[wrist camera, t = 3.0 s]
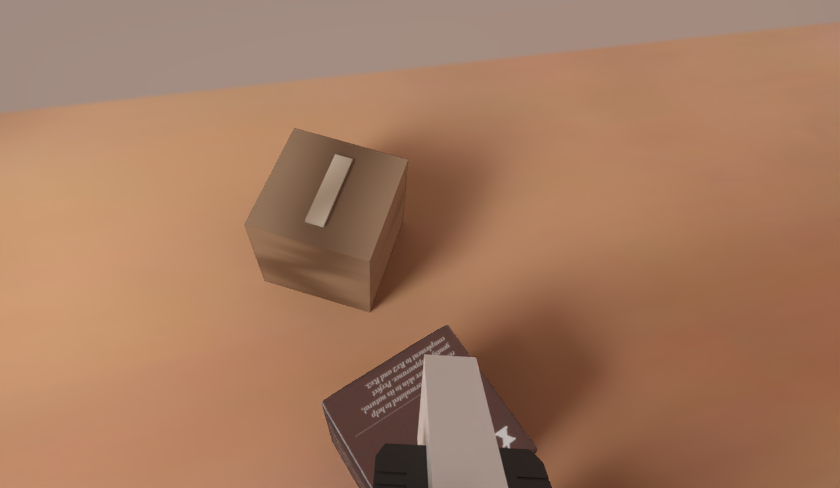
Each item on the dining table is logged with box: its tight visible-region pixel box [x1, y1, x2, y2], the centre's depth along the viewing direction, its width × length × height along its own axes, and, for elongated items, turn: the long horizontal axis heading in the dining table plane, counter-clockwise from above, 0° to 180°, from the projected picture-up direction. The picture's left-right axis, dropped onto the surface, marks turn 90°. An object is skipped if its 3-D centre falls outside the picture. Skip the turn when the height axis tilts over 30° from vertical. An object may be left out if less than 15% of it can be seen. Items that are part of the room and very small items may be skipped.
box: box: [322, 325, 537, 488], centre depth 25 cm, size 6×6×7 cm
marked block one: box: [244, 128, 408, 312], centre depth 31 cm, size 6×6×6 cm
